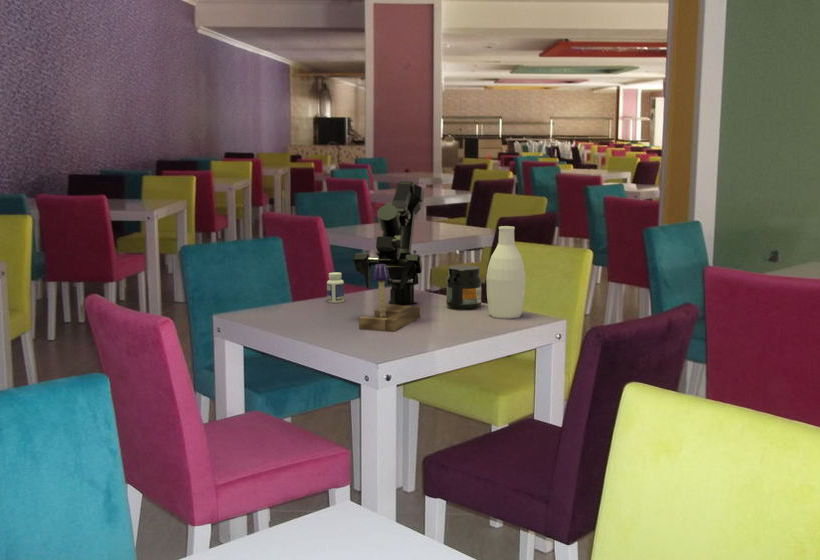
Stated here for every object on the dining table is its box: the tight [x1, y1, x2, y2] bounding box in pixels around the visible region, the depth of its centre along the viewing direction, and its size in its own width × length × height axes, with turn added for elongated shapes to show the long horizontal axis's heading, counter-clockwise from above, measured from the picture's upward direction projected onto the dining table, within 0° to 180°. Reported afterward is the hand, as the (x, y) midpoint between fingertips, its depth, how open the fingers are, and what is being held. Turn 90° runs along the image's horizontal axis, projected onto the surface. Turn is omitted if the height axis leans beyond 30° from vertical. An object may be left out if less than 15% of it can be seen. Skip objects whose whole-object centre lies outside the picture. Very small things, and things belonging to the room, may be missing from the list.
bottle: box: [485, 225, 527, 319], centre depth 262 cm, size 11×11×25 cm
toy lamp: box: [372, 264, 390, 318], centre depth 251 cm, size 5×5×17 cm
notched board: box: [358, 303, 421, 332], centre depth 255 cm, size 10×20×3 cm, turn 160°
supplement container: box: [446, 264, 483, 311], centre depth 276 cm, size 10×10×12 cm
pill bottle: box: [326, 271, 345, 304], centre depth 286 cm, size 5×5×9 cm
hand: (383, 288), depth 253 cm, fingers open, 9 cm apart
